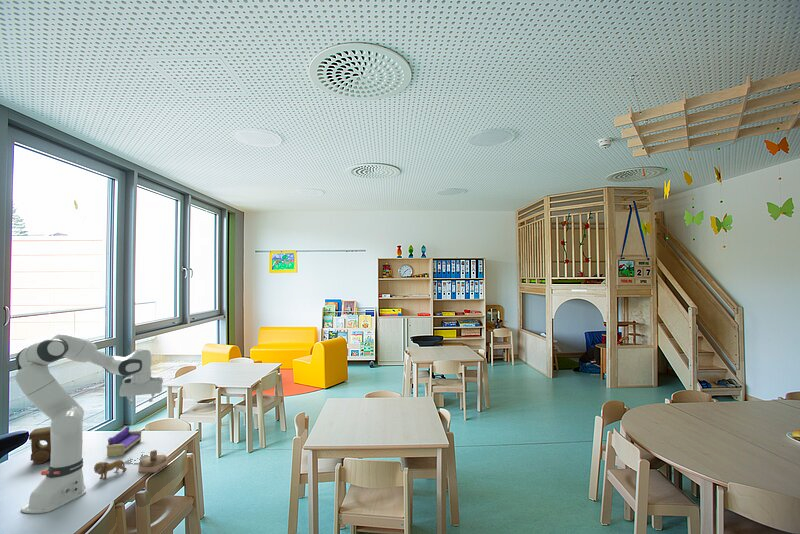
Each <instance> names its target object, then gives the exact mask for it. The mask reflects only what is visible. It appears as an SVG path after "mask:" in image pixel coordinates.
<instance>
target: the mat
mask: <svg viewBox="0 0 800 534" xmlns="http://www.w3.org/2000/svg"><path fill="white" fill-rule="evenodd" d="M146 457H149V456H148V455H144V456H143V454H142V455H141V457H140V459H139V460H140V461H141V460H142V459H144V458H146ZM131 458H132V457H130V458H129V459H130V460H129V459H126V461H123V462H124V465H130V464H133V463H131V462H132V461H131V460H133V459H131ZM137 459H138V458H137ZM129 461H130V462H129ZM134 461H136V460H134ZM139 464H140V462H139V463H134V464H133V466H135V465H137V466H139Z"/></svg>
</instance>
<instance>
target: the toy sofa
mask: <svg viewBox="0 0 800 534" xmlns="http://www.w3.org/2000/svg"><path fill="white" fill-rule="evenodd" d="M142 432H143V431H142V430H130V426H127V425H126V426H124V427H123V428H122V429H121V430H120V431H119V432H117V433H116V434H115V435H113V436H110V437H108V439H107V443H108V444H107V445H106V457H107V456H108V457H114V456H115V457H116V456H124V455H125V452H126V451H128V450H129V449H130V448H131V447H133V446H134V445H135V444H136V443H139V442H138V441H141V442H142Z"/></svg>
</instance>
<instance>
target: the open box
mask: <svg viewBox="0 0 800 534" xmlns="http://www.w3.org/2000/svg"><path fill="white" fill-rule="evenodd" d="M168 461H169V459H168V457H167V460H166V461H165V462H164V463H162V464H160V465H157V466H153V467H141V466H140V465H137V467H138V470H137V471H138V473H150V474H151V473H153V474H154V473H155V474H156V473H157V472H159V471H160V470H161V469H163V468H164V467H166V466H168ZM159 469H160V470H159ZM158 470H159V471H158Z"/></svg>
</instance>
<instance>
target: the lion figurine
mask: <svg viewBox="0 0 800 534" xmlns="http://www.w3.org/2000/svg"><path fill="white" fill-rule="evenodd" d="M124 462H125V461H124V460H121V459H117V460H114V461H112V462H109V463H108V462H104V461H99V462H96V463H95V465H94V467H93V471H94V473H96V474H98V475H100V477H99V480H100V479H101V480H102V479H103V480H104V481H105V480H107V475H108V472H110V471H113V470H114V469H116V470H115V471H114V472H113V474H115V473H118V471H119V470H122V471H121V473H126V470H127V468H126V466H125V465H126V464H124Z"/></svg>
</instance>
